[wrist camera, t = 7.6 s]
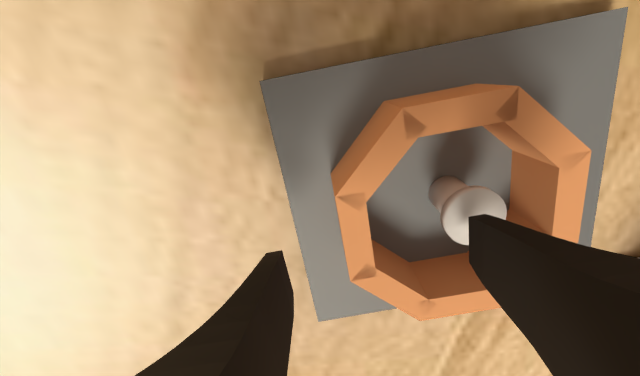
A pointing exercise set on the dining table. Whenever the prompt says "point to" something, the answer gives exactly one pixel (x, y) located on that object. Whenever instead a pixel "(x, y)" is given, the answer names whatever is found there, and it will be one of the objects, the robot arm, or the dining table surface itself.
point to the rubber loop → (525, 189)
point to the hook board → (434, 142)
